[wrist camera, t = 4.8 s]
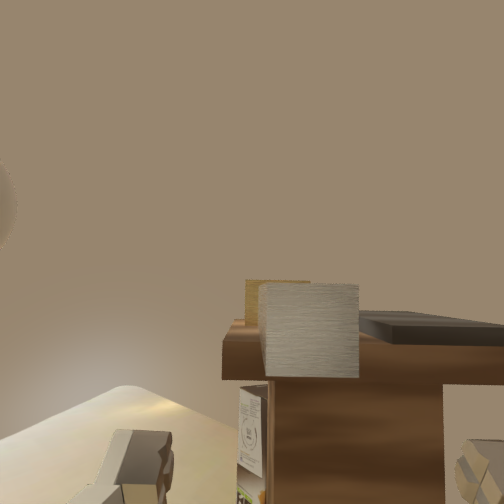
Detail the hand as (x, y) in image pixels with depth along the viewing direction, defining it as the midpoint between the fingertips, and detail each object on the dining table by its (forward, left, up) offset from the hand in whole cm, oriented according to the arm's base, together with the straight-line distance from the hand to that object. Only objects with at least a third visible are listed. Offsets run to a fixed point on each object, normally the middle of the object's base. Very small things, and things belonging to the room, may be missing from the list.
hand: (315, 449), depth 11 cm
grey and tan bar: (+5, +12, +2) cm, 14 cm away
